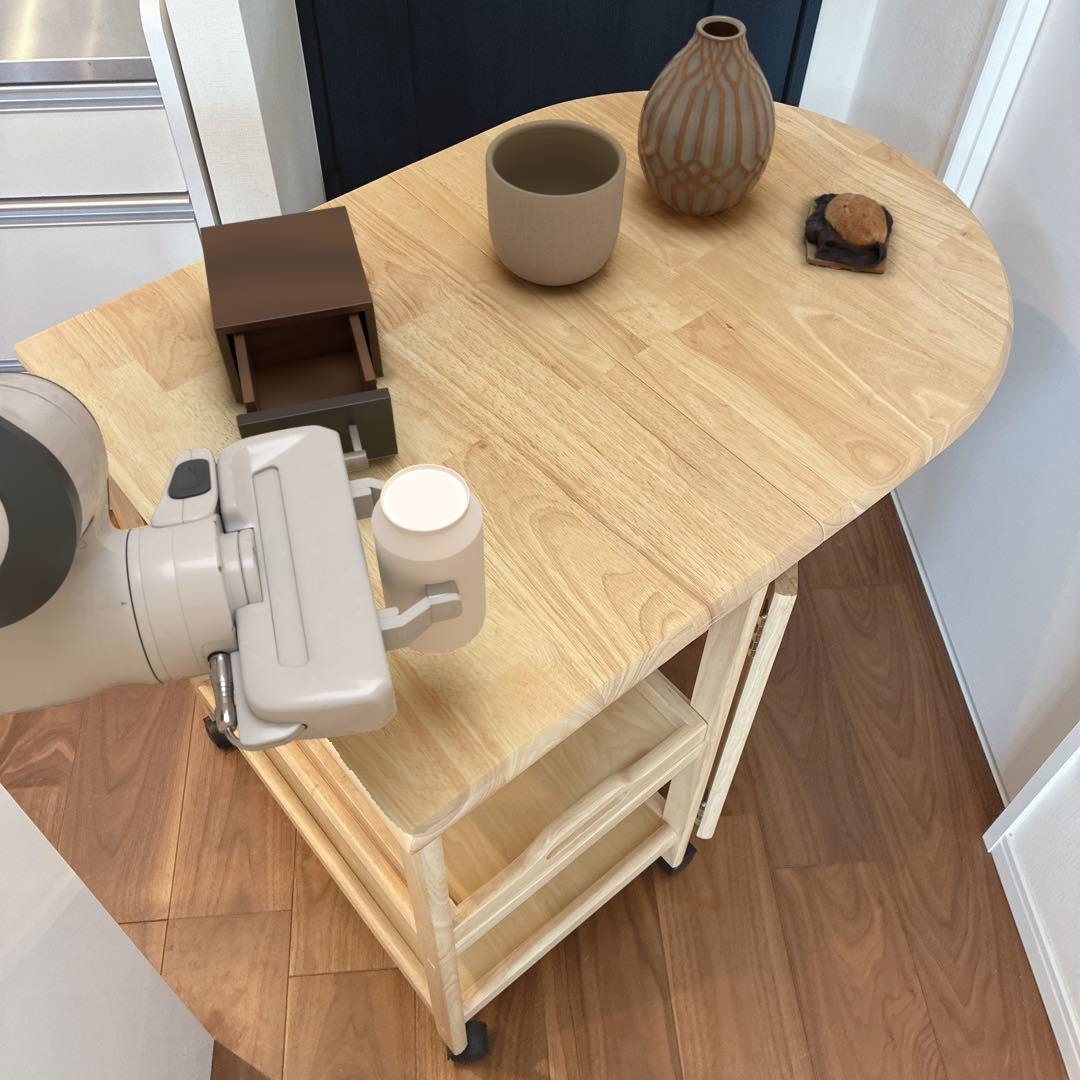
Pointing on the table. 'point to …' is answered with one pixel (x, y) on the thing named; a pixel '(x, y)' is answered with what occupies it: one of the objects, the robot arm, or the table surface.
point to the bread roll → (848, 232)
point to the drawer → (316, 385)
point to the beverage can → (431, 549)
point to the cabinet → (285, 278)
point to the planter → (554, 199)
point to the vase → (707, 122)
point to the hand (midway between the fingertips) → (445, 546)
